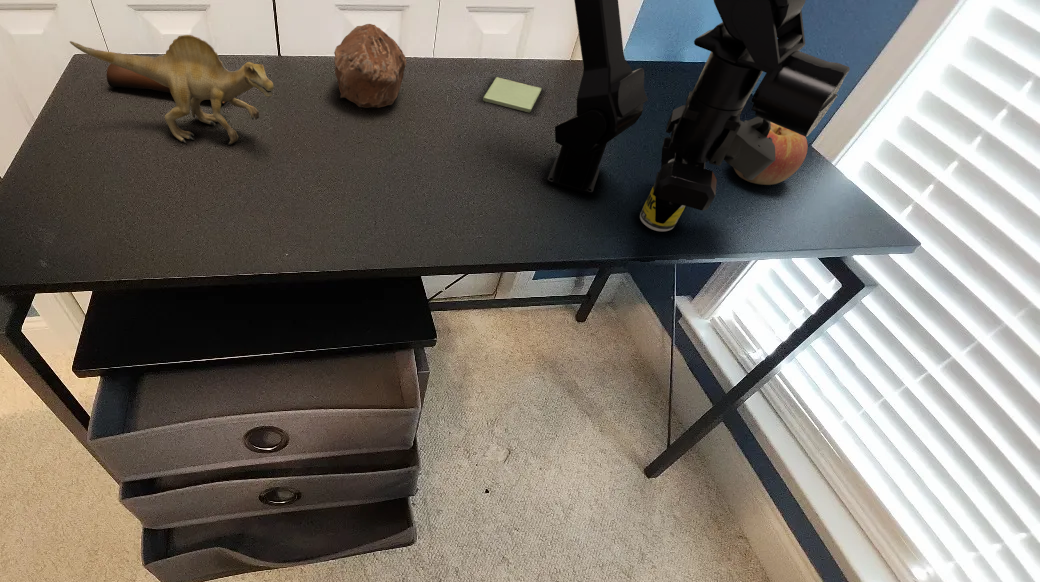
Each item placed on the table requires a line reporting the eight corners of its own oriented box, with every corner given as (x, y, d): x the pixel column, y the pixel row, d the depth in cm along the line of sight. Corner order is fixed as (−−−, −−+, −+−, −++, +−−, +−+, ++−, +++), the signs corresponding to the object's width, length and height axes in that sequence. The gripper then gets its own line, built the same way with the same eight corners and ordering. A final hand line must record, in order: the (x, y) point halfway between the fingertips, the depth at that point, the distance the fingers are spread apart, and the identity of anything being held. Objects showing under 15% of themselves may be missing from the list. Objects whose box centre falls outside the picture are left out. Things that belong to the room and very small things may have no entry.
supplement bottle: (632, 212, 81) (657, 158, 74) (661, 208, 82) (688, 153, 76) (651, 235, 78) (679, 180, 72) (681, 230, 79) (711, 175, 73)
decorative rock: (340, 74, 100) (340, 9, 93) (406, 81, 100) (411, 18, 92) (327, 113, 92) (325, 46, 84) (399, 121, 92) (404, 55, 84)
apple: (790, 199, 86) (825, 149, 80) (728, 189, 86) (757, 139, 80) (776, 166, 91) (808, 117, 85) (718, 157, 92) (745, 107, 86)
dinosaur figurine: (278, 158, 84) (268, 61, 73) (98, 130, 85) (63, 31, 75) (293, 130, 88) (286, 35, 78) (123, 103, 90) (93, 7, 79)
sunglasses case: (239, 78, 96) (226, 51, 89) (230, 118, 95) (217, 93, 88) (131, 63, 97) (111, 35, 90) (121, 102, 96) (100, 77, 89)
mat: (529, 113, 96) (530, 109, 96) (482, 100, 98) (483, 97, 97) (540, 91, 101) (541, 88, 101) (495, 80, 103) (496, 76, 102)
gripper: (796, 158, 60) (720, 273, 72) (791, 80, 71) (726, 190, 83) (684, 130, 62) (628, 246, 74) (696, 58, 73) (646, 169, 85)
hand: (661, 211), depth 79 cm, fingers closed on supplement bottle, 5 cm apart
